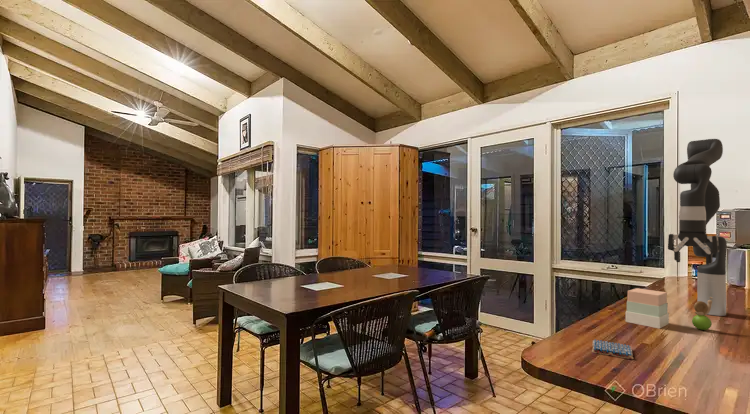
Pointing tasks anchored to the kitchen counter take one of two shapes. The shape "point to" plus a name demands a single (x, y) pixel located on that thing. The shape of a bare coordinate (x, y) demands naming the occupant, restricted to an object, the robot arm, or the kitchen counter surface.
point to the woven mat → (612, 349)
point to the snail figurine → (702, 315)
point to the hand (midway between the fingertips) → (692, 263)
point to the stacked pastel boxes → (647, 308)
